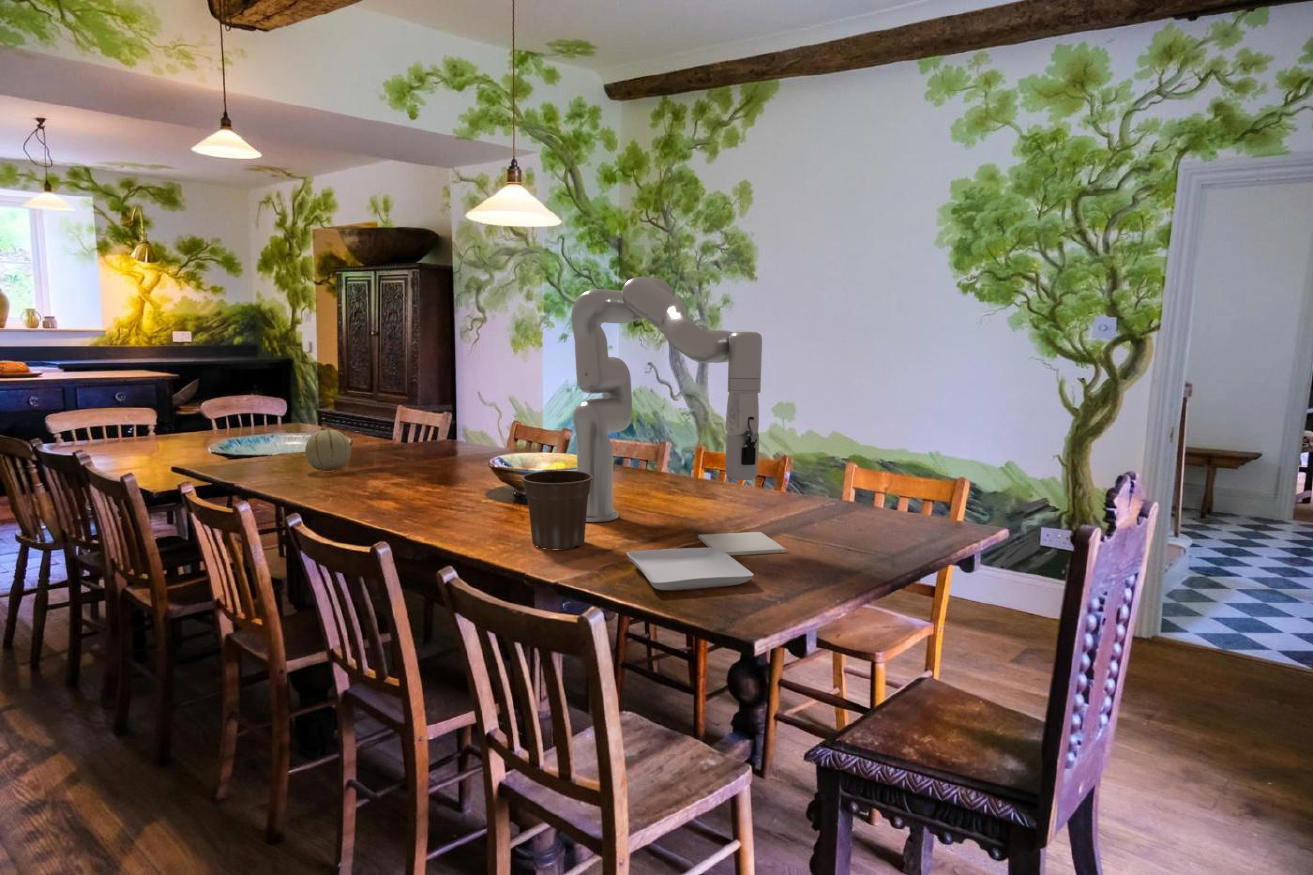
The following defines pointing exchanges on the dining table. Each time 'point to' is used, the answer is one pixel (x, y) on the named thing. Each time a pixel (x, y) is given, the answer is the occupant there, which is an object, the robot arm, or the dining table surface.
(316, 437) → the cantaloupe
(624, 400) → the robot arm
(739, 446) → the can
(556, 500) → the plant pot
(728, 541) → the mat
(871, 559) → the dining table surface
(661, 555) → the salad plate
